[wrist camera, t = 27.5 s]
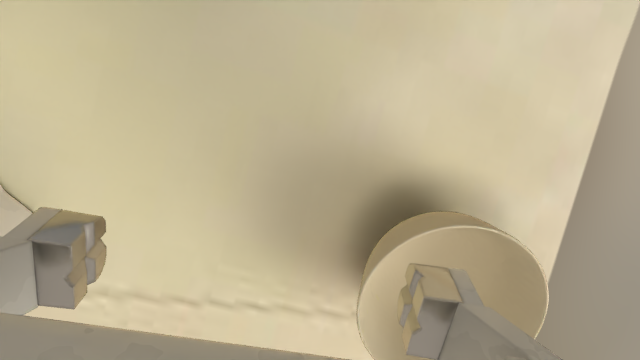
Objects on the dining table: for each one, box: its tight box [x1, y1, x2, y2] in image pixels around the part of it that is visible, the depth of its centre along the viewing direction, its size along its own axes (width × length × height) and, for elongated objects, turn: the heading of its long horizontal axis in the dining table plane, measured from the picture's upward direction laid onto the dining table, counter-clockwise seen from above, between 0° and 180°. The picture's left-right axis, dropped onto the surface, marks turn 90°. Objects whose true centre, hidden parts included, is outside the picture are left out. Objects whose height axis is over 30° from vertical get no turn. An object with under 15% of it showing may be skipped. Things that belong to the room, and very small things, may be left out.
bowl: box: [357, 211, 549, 360], centre depth 43 cm, size 16×16×10 cm
